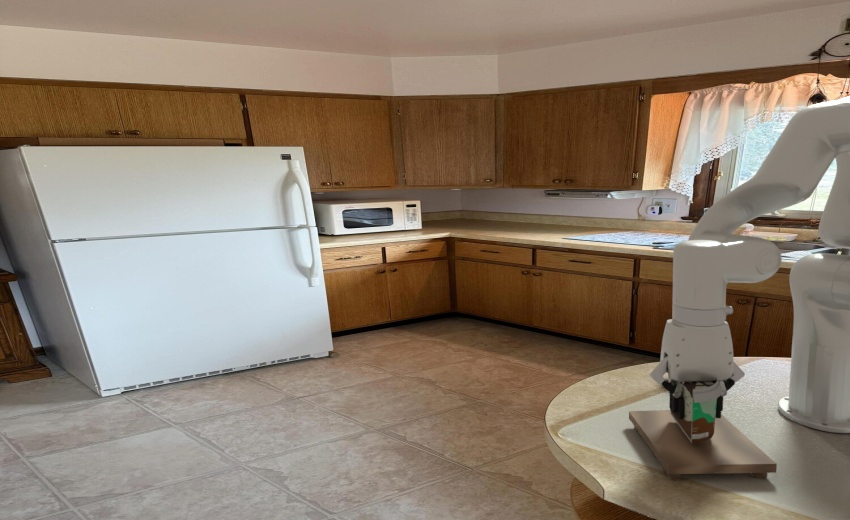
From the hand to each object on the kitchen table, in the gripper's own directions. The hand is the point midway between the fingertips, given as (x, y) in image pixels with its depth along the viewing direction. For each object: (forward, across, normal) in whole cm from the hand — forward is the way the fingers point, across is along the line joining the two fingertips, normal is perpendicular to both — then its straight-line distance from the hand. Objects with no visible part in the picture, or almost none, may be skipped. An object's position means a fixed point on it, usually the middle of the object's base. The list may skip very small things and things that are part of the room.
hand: (695, 413), depth 77 cm
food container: (+3, -1, 0) cm, 3 cm away
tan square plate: (+7, 0, 0) cm, 7 cm away
